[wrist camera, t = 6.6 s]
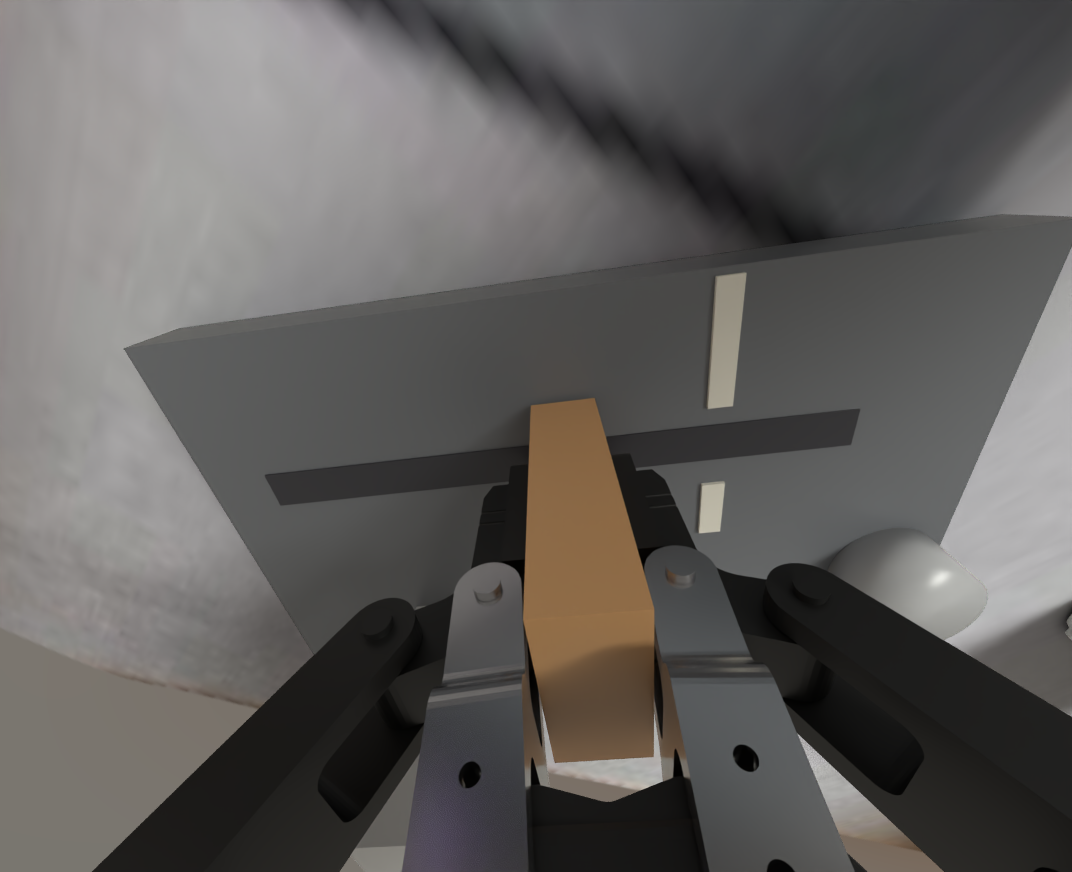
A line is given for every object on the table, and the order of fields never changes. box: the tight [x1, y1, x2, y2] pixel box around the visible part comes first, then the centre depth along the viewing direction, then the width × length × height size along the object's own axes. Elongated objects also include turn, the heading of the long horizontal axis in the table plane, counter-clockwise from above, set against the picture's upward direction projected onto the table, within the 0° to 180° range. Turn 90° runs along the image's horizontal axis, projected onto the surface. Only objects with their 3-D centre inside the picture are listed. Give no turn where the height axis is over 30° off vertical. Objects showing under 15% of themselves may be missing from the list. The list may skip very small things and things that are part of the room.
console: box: [124, 214, 1072, 872], centre depth 13 cm, size 18×24×9 cm
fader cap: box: [523, 398, 654, 763], centre depth 10 cm, size 4×2×7 cm, turn 7°
